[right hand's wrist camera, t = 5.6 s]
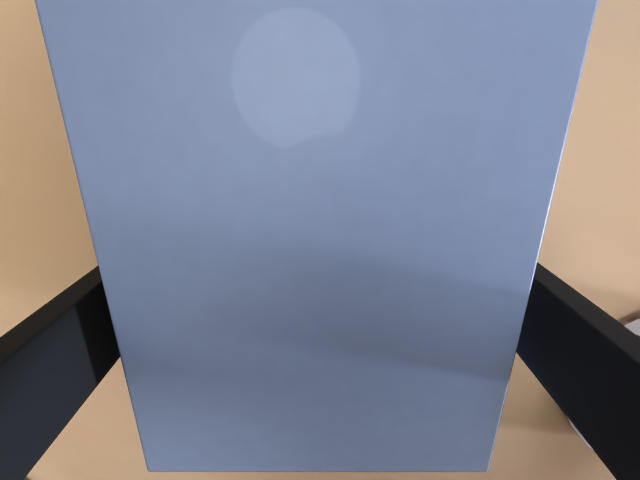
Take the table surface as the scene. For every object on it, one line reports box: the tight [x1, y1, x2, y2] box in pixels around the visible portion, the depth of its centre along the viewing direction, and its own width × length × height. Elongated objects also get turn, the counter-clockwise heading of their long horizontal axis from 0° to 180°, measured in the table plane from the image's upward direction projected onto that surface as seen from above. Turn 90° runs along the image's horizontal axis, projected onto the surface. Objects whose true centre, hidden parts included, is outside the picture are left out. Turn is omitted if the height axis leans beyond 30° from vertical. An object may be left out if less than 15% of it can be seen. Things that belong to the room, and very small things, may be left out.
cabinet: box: [35, 0, 598, 472], centre depth 12 cm, size 20×11×9 cm, turn 0°
